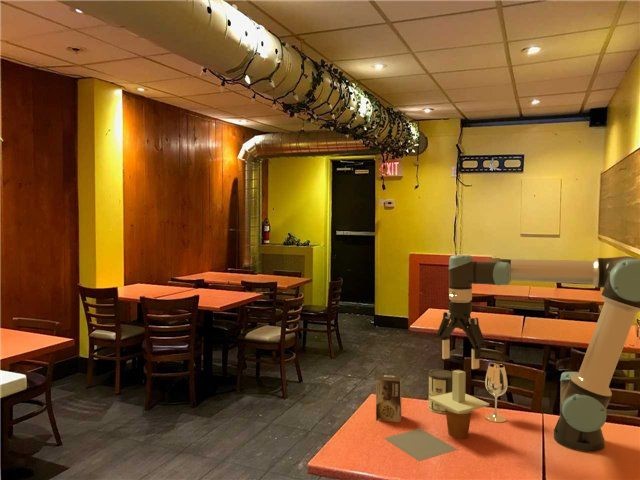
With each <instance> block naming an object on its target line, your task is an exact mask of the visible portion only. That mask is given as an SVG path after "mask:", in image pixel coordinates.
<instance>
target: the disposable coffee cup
mask: <svg viewBox="0 0 640 480" xmlns="http://www.w3.org/2000/svg"><path fill="white" fill-rule="evenodd" d="M445 409H446V414H445V418H446V426H447V427H446V428H447V434H448V436H449V437H451V438H453V439H458V440H462V439H467V438H468V437H469V431H470V424H471V416H472V412H473V410H471V411H467V412H463V413H460V414H458V413H456V412H453V411H451V410H449V409H447V408H445Z"/></svg>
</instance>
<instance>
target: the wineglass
mask: <svg viewBox="0 0 640 480" xmlns="http://www.w3.org/2000/svg"><path fill="white" fill-rule="evenodd" d="M484 385H485V389H486V391H487V392H488V393H489V394H490V395H492V396H493V397H494V412H493V413H488V414H485V416H484V418H485V419H486V420H487V421H490V422H493V423H504V422H506V421H507V418H506V416H504V415H502V414H499V413H498V411H497V409H498V408H497V407H498V398H499V397H500V396H502V395H504V394H505V393H506V391H507V390H508V377H507V372H506V368H505V365H503V364H500V363H490V364H488V368H487V370H486V374H485V381H484Z"/></svg>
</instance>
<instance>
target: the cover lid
mask: <svg viewBox="0 0 640 480" xmlns="http://www.w3.org/2000/svg"><path fill="white" fill-rule="evenodd" d="M452 372H453V379H452V392H451V393H447V394H442V395H438V396H433V397H429V396H428V401H429V400H430V401H432V402H435V403H437V404H439V405H441V406H443V407H445V408H447V409H449V410H451V411H453V412H456V413H458V414H460V413H463V412H467V411H471V410H472V411H475V410H479V409H482V408H486V407H490V403H489V402H487V401H484V400H482V399H479V398H477V397H475V396H472V395H470V394H467V393H466V379H467V378H466V377H467V375H466V371H464V370H461V369H456V370H452Z"/></svg>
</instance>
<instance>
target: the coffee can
mask: <svg viewBox="0 0 640 480" xmlns="http://www.w3.org/2000/svg"><path fill="white" fill-rule="evenodd" d="M452 379H453V371H451V370H447V369H431V370H429V371H428V398H429V397H433V396H438V395H442V394H447V393H451V392H452ZM427 408H428V410H430V411H431V412H433V413H437V414H445V415H446V409H445V407H443V406H441V405H439V404H437V403H435V402H432V401H430V400H429V399H428V407H427Z"/></svg>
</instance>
